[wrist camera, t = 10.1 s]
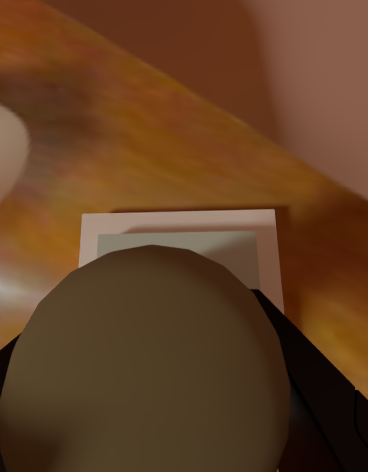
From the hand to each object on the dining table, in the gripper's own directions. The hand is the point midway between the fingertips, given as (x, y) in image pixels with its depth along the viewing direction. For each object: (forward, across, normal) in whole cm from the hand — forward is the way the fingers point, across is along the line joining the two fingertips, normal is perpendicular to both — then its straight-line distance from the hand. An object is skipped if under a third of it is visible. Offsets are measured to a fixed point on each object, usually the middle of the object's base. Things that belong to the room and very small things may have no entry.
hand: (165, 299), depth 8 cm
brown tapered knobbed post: (+4, 0, +6) cm, 7 cm away
